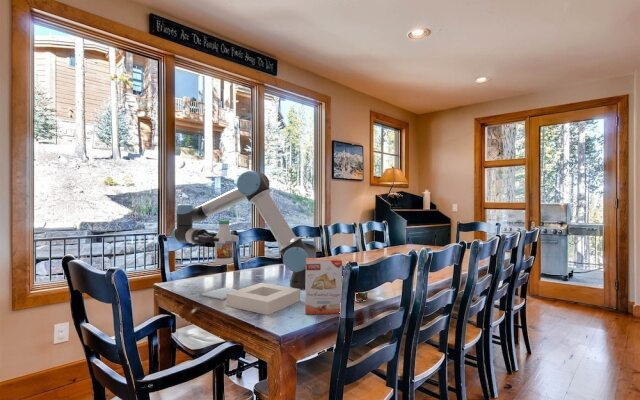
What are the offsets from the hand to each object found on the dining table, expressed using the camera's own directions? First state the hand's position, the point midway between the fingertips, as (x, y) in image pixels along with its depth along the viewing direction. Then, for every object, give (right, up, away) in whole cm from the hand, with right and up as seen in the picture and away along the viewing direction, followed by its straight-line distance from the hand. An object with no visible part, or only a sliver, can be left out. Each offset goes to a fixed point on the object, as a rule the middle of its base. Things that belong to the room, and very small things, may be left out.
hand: (231, 239), depth 156 cm
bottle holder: (+17, -26, -11) cm, 33 cm away
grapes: (+55, -26, +15) cm, 63 cm away
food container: (+59, -26, -5) cm, 65 cm away
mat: (-4, -26, +2) cm, 26 cm away
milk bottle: (-4, -12, +2) cm, 13 cm away
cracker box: (+42, -26, -22) cm, 54 cm away
